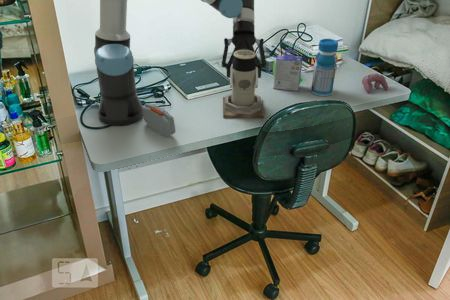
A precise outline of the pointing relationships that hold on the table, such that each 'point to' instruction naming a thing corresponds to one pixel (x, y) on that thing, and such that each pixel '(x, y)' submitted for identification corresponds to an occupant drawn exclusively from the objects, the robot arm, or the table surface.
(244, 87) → the travel mug
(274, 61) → the puzzle toy
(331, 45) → the beverage bottle
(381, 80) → the pink arch
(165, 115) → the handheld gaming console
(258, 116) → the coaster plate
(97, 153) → the table surface
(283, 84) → the ink cartridge box
